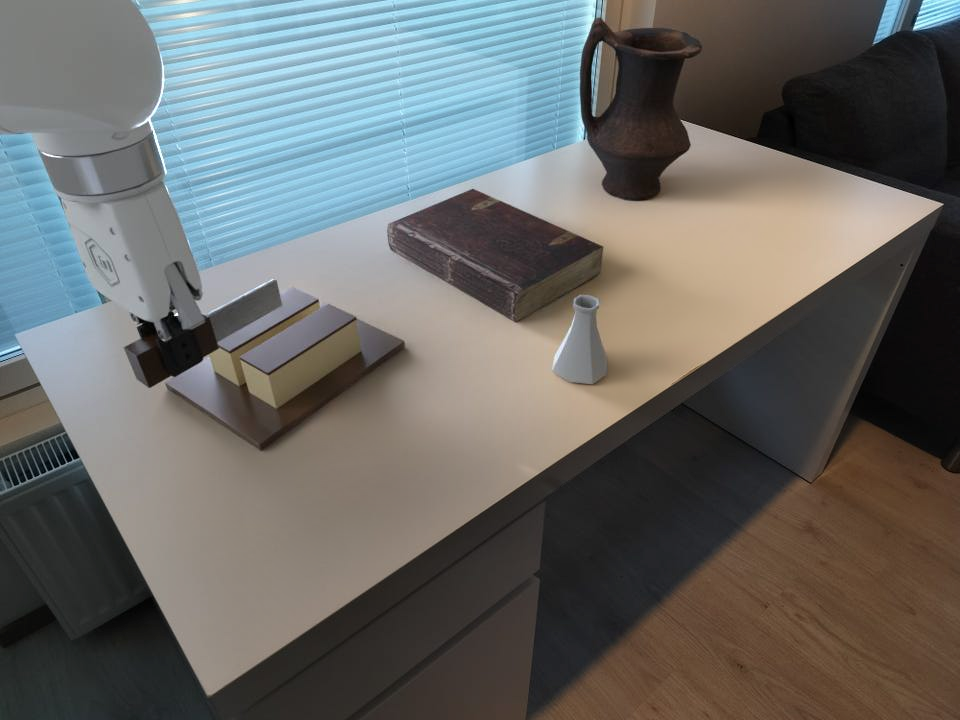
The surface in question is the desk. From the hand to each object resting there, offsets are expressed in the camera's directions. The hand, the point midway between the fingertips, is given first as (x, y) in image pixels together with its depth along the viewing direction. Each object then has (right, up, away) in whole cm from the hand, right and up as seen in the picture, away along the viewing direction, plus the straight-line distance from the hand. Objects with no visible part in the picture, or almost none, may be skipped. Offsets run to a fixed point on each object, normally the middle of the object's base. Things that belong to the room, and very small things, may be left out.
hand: (177, 360), depth 60 cm
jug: (+55, +33, +71) cm, 95 cm away
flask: (+40, -1, +27) cm, 48 cm away
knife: (+2, +2, +3) cm, 4 cm away
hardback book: (+29, +15, +49) cm, 58 cm away
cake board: (+2, -1, +28) cm, 28 cm away
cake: (+2, -1, +28) cm, 28 cm away
